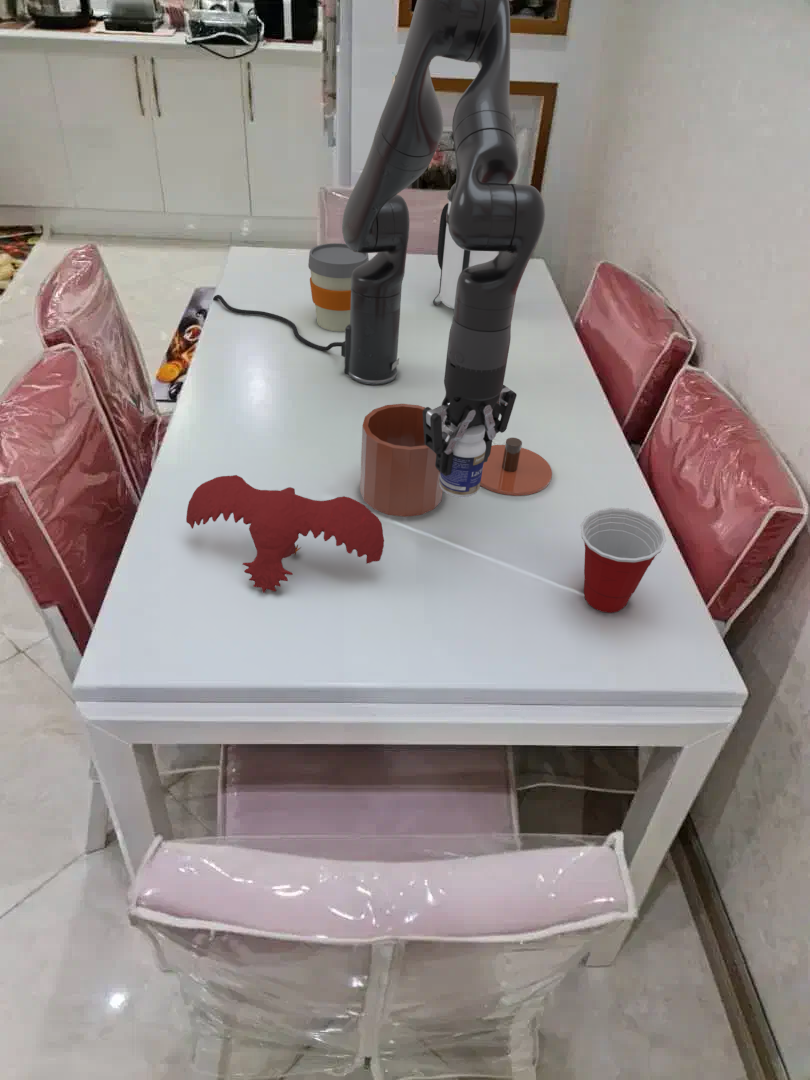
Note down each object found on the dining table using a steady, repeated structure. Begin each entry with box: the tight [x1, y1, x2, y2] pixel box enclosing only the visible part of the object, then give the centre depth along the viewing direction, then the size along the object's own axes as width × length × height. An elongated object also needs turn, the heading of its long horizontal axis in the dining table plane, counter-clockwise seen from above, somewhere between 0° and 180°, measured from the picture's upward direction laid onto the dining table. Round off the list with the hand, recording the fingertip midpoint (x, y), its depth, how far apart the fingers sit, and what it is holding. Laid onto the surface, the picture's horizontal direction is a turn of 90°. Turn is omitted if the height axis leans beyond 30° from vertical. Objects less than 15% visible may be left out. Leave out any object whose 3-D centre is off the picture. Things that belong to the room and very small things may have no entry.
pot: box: [359, 403, 444, 518], centre depth 123 cm, size 13×13×12 cm
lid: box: [480, 437, 553, 497], centre depth 132 cm, size 14×14×6 cm
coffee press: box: [432, 182, 500, 310], centre depth 176 cm, size 17×16×30 cm
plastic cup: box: [579, 507, 667, 614], centre depth 107 cm, size 11×11×12 cm
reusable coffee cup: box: [307, 242, 370, 333], centre depth 170 cm, size 13×13×15 cm
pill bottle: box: [439, 423, 486, 498], centre depth 110 cm, size 6×6×10 cm
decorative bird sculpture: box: [185, 474, 385, 594], centre depth 110 cm, size 28×9×15 cm
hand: (462, 465), depth 111 cm, fingers closed on pill bottle, 5 cm apart
